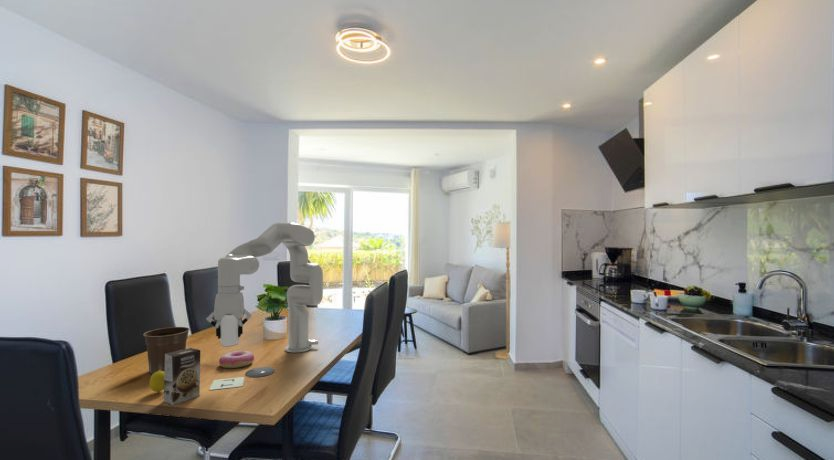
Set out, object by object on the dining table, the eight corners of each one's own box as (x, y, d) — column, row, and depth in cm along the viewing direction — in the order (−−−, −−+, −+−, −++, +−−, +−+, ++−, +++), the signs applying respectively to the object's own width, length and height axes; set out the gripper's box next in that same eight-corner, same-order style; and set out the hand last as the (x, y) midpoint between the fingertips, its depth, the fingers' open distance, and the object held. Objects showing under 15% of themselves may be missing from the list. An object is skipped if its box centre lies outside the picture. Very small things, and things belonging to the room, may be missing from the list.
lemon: (155, 390, 141) (155, 367, 141) (171, 389, 142) (171, 367, 142) (145, 396, 136) (146, 373, 136) (162, 395, 136) (162, 372, 136)
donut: (260, 361, 174) (260, 350, 174) (238, 371, 161) (238, 359, 161) (236, 358, 178) (236, 347, 178) (212, 368, 165) (212, 356, 165)
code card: (244, 377, 154) (244, 376, 154) (242, 386, 145) (242, 386, 145) (213, 380, 151) (213, 379, 151) (209, 390, 141) (209, 389, 141)
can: (242, 341, 152) (242, 311, 152) (233, 347, 145) (232, 315, 145) (226, 341, 152) (226, 310, 152) (216, 346, 146) (216, 314, 146)
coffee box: (172, 405, 129) (173, 356, 129) (163, 401, 132) (163, 353, 132) (200, 396, 136) (201, 349, 137) (190, 392, 140) (191, 346, 140)
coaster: (274, 366, 167) (274, 365, 167) (274, 375, 157) (274, 374, 157) (246, 369, 163) (246, 368, 163) (244, 378, 153) (244, 377, 153)
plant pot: (132, 374, 157) (133, 333, 158) (170, 361, 173) (171, 325, 173) (161, 379, 152) (162, 337, 152) (198, 366, 167) (198, 328, 167)
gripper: (254, 287, 155) (254, 332, 155) (205, 289, 149) (206, 336, 149) (253, 290, 148) (253, 337, 148) (201, 293, 142) (202, 342, 142)
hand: (229, 336), depth 149 cm, fingers closed on can, 6 cm apart
